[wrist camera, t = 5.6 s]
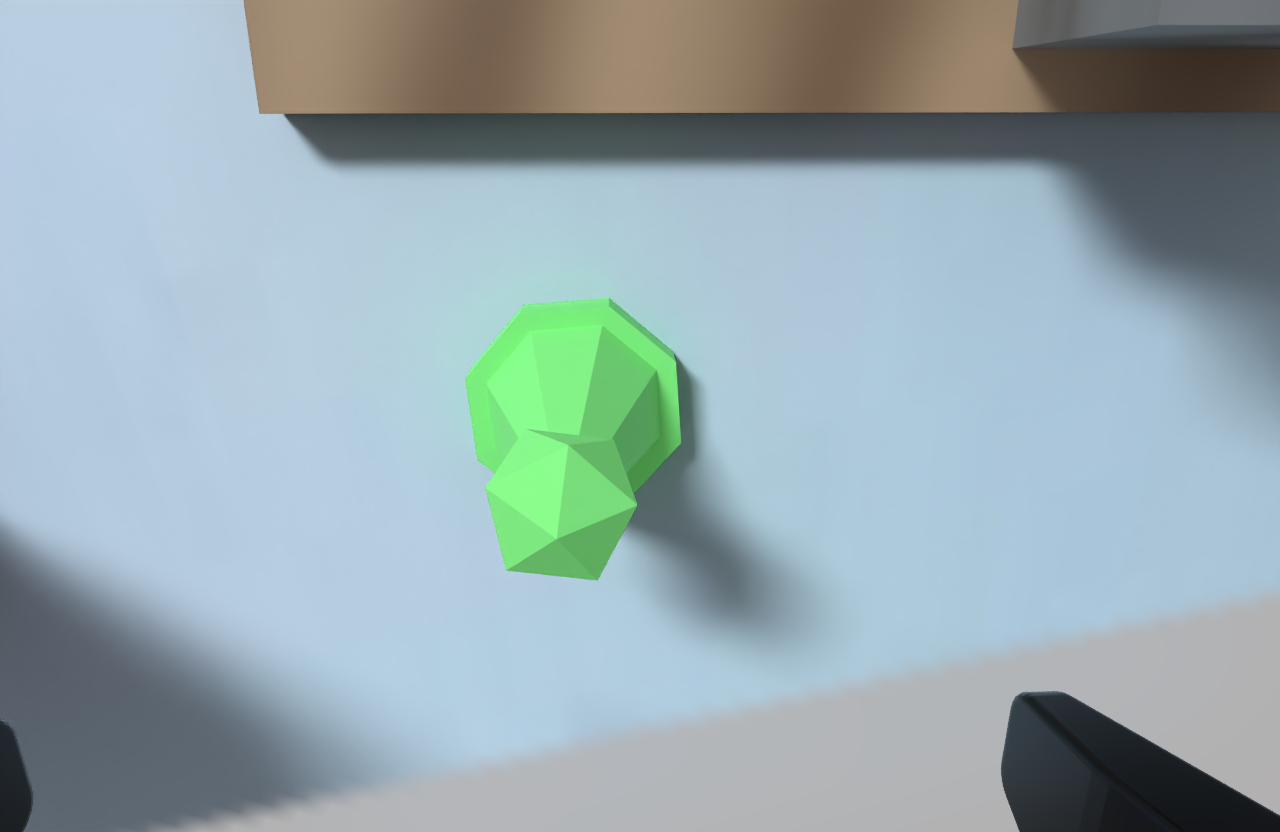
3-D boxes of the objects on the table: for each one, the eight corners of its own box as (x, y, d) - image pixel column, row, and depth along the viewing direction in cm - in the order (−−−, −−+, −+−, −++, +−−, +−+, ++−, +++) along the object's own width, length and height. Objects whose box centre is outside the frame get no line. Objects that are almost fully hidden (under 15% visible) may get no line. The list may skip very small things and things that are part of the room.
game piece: (645, 521, 18) (660, 705, 12) (445, 464, 18) (365, 631, 12) (714, 331, 17) (767, 441, 11) (500, 263, 16) (441, 343, 11)
